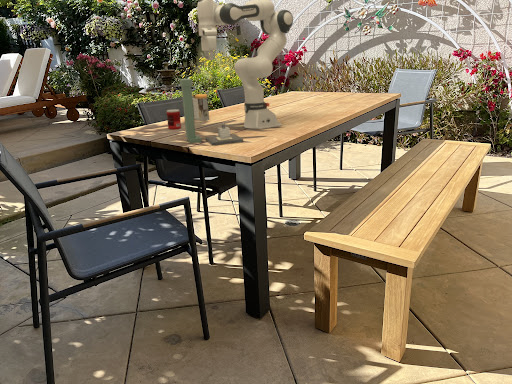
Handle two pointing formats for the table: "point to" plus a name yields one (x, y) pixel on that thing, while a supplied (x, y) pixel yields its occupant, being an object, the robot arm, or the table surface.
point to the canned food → (173, 119)
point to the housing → (223, 132)
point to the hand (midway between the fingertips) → (209, 59)
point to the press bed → (224, 140)
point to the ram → (195, 104)
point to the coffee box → (202, 109)
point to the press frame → (188, 111)
